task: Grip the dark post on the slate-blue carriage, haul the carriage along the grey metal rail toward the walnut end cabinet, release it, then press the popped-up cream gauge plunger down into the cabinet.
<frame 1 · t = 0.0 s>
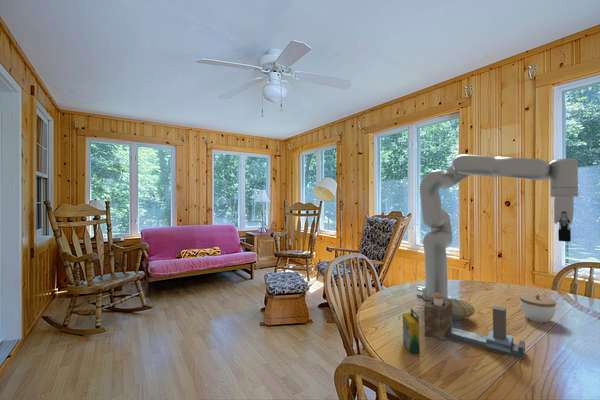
hand: (564, 239, 108), 31 cm above the table, fingers open, 9 cm apart
carriage: (499, 326, 91), point 7 cm above the table, slide at 0.0 cm
gauge plunger: (438, 304, 103), point 10 cm above the table, slide at 0.0 cm
crayon box: (411, 349, 93), on the table
end cabinet: (438, 332, 103), on the table
nautilus: (443, 317, 117), on the table
rail: (483, 344, 94), on the table
lidded jar: (537, 319, 113), on the table
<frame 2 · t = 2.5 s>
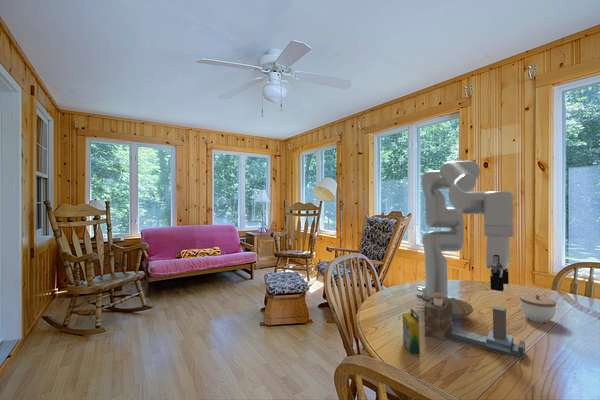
hand: (499, 286, 91), 20 cm above the table, fingers open, 9 cm apart
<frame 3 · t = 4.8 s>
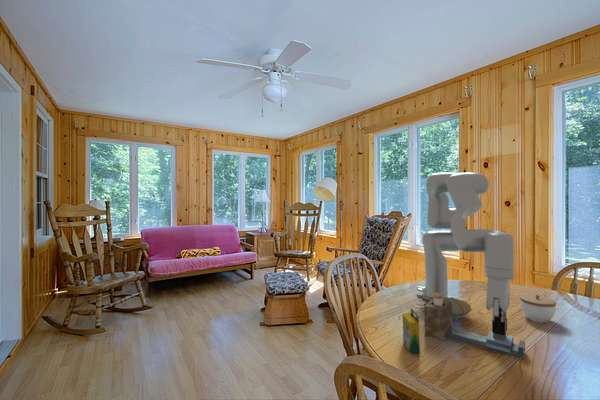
hand: (499, 331, 91), 6 cm above the table, fingers closed on carriage, 3 cm apart
carriage: (499, 326, 91), point 7 cm above the table, slide at 0.0 cm, touching gripper
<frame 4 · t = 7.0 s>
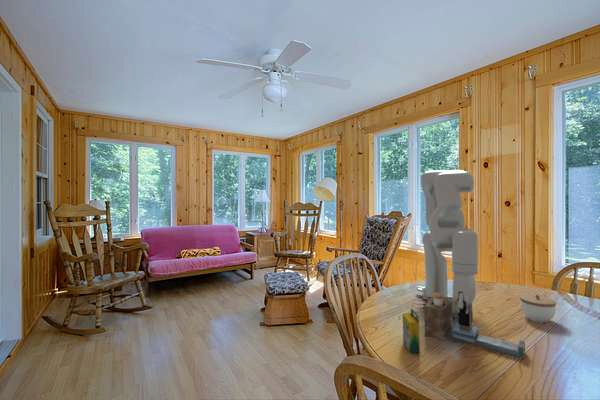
hand: (465, 322, 98), 6 cm above the table, fingers closed on carriage, 3 cm apart
carriage: (465, 318, 98), point 7 cm above the table, slide at 9.5 cm, touching gripper
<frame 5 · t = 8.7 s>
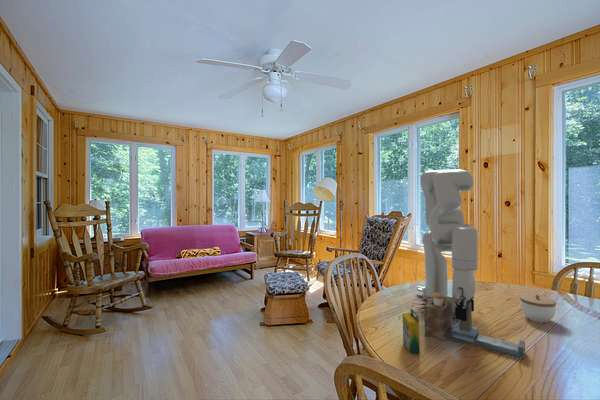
hand: (464, 315, 98), 8 cm above the table, fingers open, 9 cm apart
carriage: (465, 318, 98), point 7 cm above the table, slide at 9.5 cm
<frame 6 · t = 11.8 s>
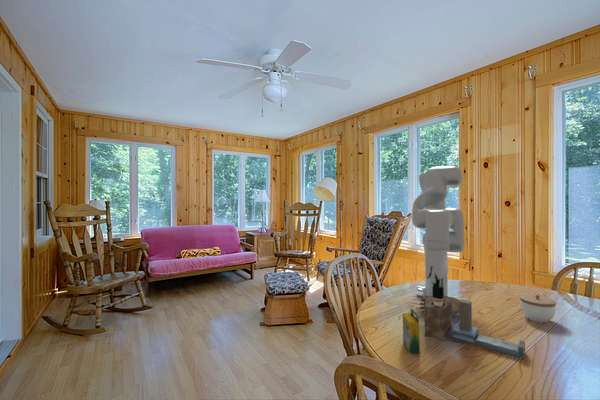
hand: (438, 297, 103), 12 cm above the table, fingers closed
gauge plunger: (438, 307, 103), point 9 cm above the table, slide at 1.2 cm, touching gripper
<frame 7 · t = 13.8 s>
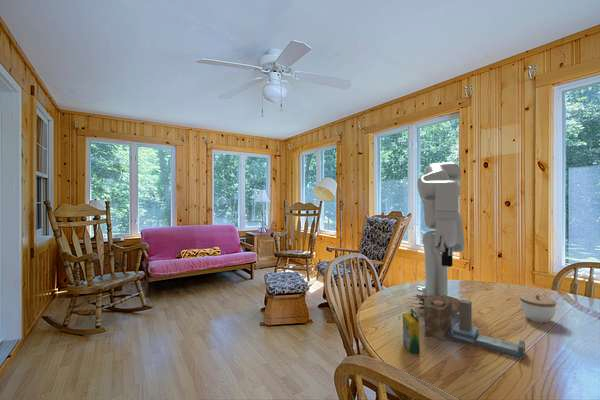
hand: (447, 265, 107), 23 cm above the table, fingers closed
gauge plunger: (438, 312, 103), point 7 cm above the table, slide at 2.8 cm
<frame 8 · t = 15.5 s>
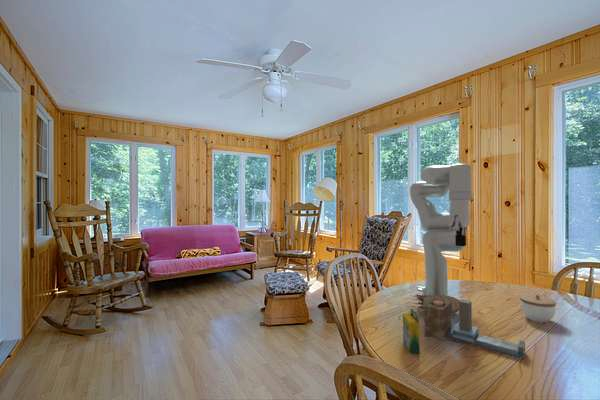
hand: (460, 245, 111), 29 cm above the table, fingers closed
at the end: carriage slide at 9.5 cm; gauge plunger slide at 2.8 cm; the gripper is holding nothing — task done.
